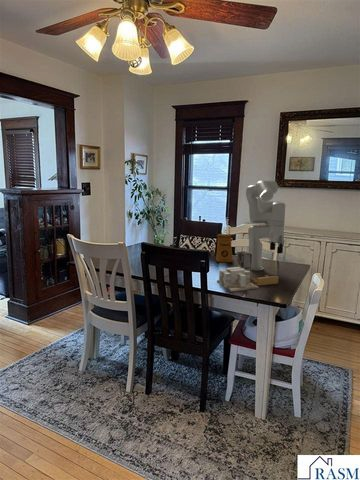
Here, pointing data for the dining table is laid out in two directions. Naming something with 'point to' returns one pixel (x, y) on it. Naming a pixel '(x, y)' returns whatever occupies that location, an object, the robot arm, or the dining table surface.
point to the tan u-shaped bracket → (265, 280)
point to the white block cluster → (236, 279)
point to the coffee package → (224, 248)
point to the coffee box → (244, 260)
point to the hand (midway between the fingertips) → (276, 251)
